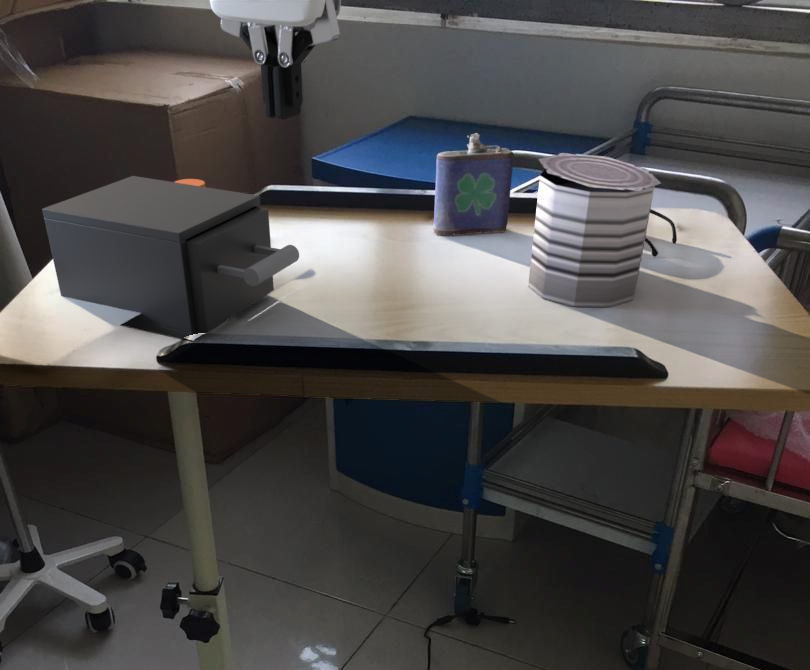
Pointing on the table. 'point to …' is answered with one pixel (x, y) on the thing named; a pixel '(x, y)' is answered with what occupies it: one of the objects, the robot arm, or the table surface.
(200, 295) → the pull-out drawer box
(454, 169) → the flask
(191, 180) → the button
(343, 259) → the table surface
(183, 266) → the grey drawer casing
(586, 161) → the can
